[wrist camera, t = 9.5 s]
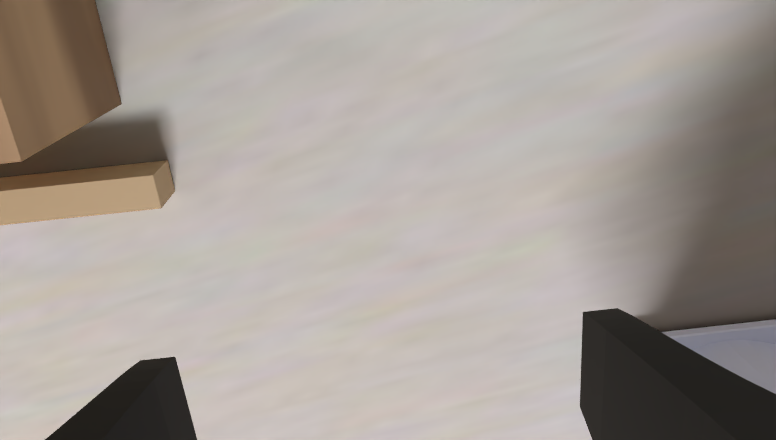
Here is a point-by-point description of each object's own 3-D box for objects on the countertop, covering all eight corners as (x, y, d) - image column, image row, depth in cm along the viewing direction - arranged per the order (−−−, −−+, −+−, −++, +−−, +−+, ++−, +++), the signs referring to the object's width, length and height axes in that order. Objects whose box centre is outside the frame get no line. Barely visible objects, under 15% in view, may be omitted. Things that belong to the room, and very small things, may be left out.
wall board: (563, -267, 15) (656, -372, 11) (556, 158, 19) (622, 216, 15) (-276, -191, 15) (-563, -267, 10) (-99, 227, 19) (-244, 309, 14)
